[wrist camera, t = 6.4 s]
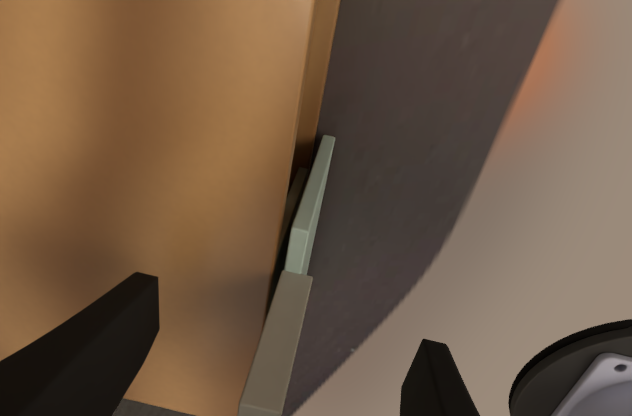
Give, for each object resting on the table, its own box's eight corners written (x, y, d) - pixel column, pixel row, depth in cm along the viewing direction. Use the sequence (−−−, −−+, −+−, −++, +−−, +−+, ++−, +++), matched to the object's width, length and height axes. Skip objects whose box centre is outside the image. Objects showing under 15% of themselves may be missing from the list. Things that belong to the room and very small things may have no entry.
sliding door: (344, 138, 17) (291, 366, 8) (311, 288, 22) (251, 548, 12) (322, 133, 17) (244, 355, 8) (292, 284, 22) (220, 541, 12)
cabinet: (351, -60, 14) (323, -56, 8) (285, 300, 23) (248, 428, 17) (51, -121, 14) (-184, -160, 9) (97, 257, 23) (-5, 368, 17)
